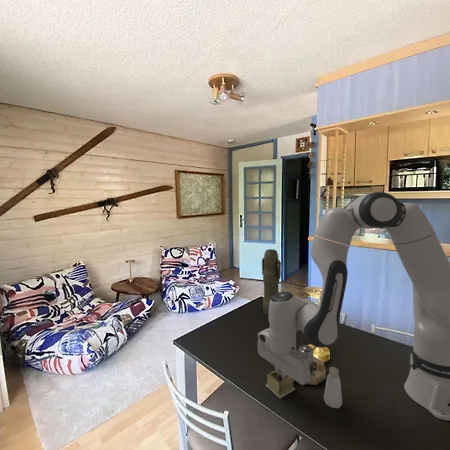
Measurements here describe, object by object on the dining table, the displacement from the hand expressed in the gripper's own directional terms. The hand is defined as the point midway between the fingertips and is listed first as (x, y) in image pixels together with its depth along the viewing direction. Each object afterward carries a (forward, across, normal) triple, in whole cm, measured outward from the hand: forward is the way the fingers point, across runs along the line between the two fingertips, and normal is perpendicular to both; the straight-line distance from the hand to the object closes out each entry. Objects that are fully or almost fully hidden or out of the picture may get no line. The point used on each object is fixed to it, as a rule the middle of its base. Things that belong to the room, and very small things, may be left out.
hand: (282, 379), depth 86 cm
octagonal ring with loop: (+3, 0, -8) cm, 8 cm away
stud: (+3, 0, -13) cm, 13 cm away
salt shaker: (+3, -13, -8) cm, 16 cm away
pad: (+3, +1, 0) cm, 3 cm away
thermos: (+3, +42, -38) cm, 57 cm away
